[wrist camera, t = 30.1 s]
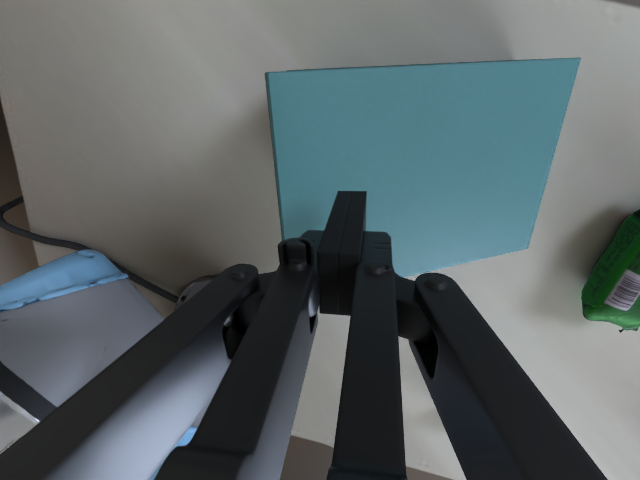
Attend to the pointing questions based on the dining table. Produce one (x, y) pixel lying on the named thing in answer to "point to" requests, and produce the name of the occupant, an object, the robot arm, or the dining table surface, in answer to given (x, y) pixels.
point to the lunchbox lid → (421, 152)
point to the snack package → (617, 280)
